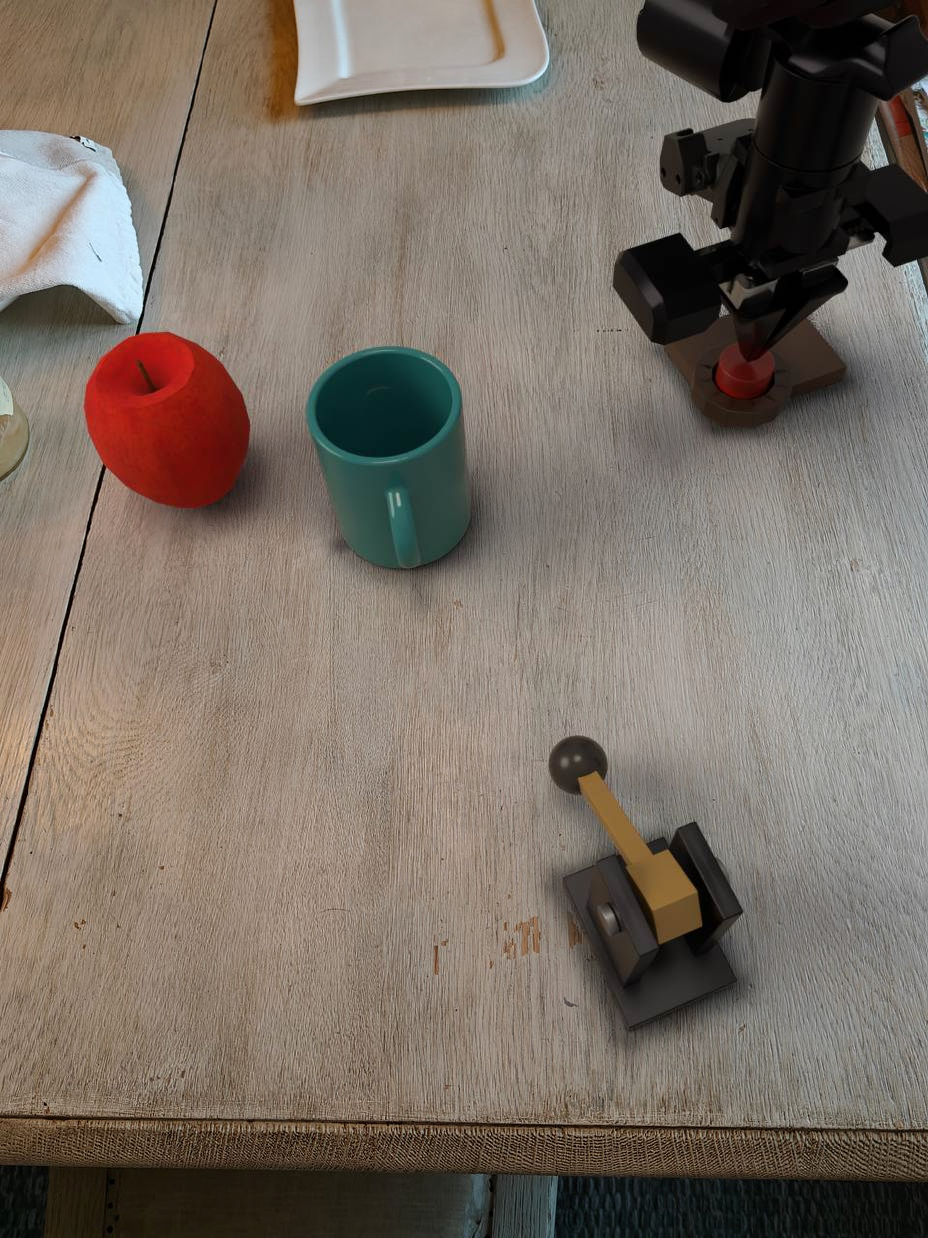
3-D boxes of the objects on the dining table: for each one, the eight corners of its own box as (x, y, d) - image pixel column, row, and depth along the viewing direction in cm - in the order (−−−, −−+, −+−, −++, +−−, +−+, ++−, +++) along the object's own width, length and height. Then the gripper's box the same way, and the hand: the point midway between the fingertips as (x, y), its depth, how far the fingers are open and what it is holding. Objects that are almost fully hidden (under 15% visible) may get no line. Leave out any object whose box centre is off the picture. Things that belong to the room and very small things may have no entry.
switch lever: (545, 779, 54) (535, 736, 52) (597, 758, 54) (588, 715, 52) (650, 955, 43) (641, 909, 41) (713, 928, 43) (707, 880, 42)
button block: (783, 308, 72) (793, 276, 69) (859, 402, 67) (873, 371, 64) (648, 354, 70) (652, 323, 68) (716, 453, 66) (723, 424, 63)
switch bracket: (561, 883, 52) (568, 829, 43) (661, 842, 53) (687, 780, 44) (627, 1031, 48) (648, 1004, 40) (733, 984, 49) (776, 948, 40)
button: (752, 353, 66) (757, 335, 65) (779, 389, 65) (785, 370, 63) (705, 370, 66) (709, 351, 64) (731, 406, 64) (736, 387, 63)
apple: (117, 455, 69) (41, 327, 58) (248, 411, 70) (198, 277, 59) (147, 561, 64) (71, 443, 53) (287, 511, 65) (239, 386, 55)
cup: (348, 621, 61) (314, 519, 51) (334, 474, 67) (300, 356, 57) (489, 599, 61) (481, 493, 51) (462, 454, 67) (450, 334, 57)
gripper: (877, 13, 55) (808, 240, 68) (579, 102, 52) (569, 319, 66) (999, 120, 49) (898, 344, 63) (674, 224, 47) (642, 434, 61)
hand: (748, 356), depth 63 cm, fingers closed
